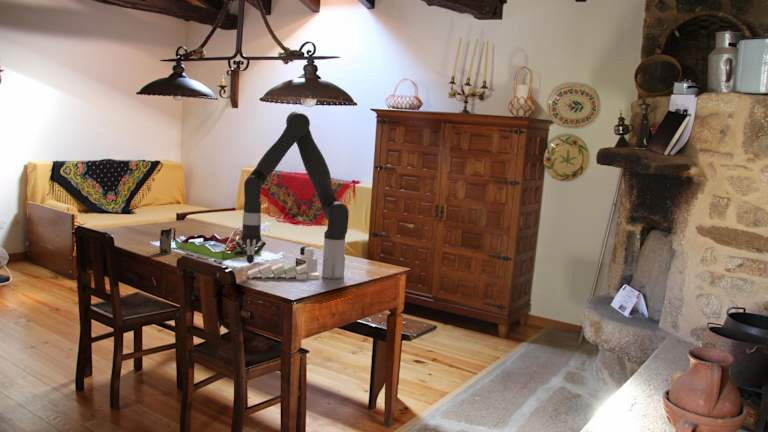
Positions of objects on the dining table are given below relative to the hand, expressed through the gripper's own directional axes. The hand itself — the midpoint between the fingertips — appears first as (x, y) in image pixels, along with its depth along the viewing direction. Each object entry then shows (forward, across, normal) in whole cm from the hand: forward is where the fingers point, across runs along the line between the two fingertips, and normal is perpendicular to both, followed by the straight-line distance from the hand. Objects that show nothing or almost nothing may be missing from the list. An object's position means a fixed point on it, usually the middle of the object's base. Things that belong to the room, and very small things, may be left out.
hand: (250, 263), depth 272 cm
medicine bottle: (+6, +25, +8) cm, 27 cm away
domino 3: (+5, +10, 0) cm, 11 cm away
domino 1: (+5, 0, 0) cm, 5 cm away
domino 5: (+5, +20, 0) cm, 20 cm away
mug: (+6, -37, +48) cm, 61 cm away
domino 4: (+5, +15, 0) cm, 16 cm away
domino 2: (+5, +5, 0) cm, 7 cm away
